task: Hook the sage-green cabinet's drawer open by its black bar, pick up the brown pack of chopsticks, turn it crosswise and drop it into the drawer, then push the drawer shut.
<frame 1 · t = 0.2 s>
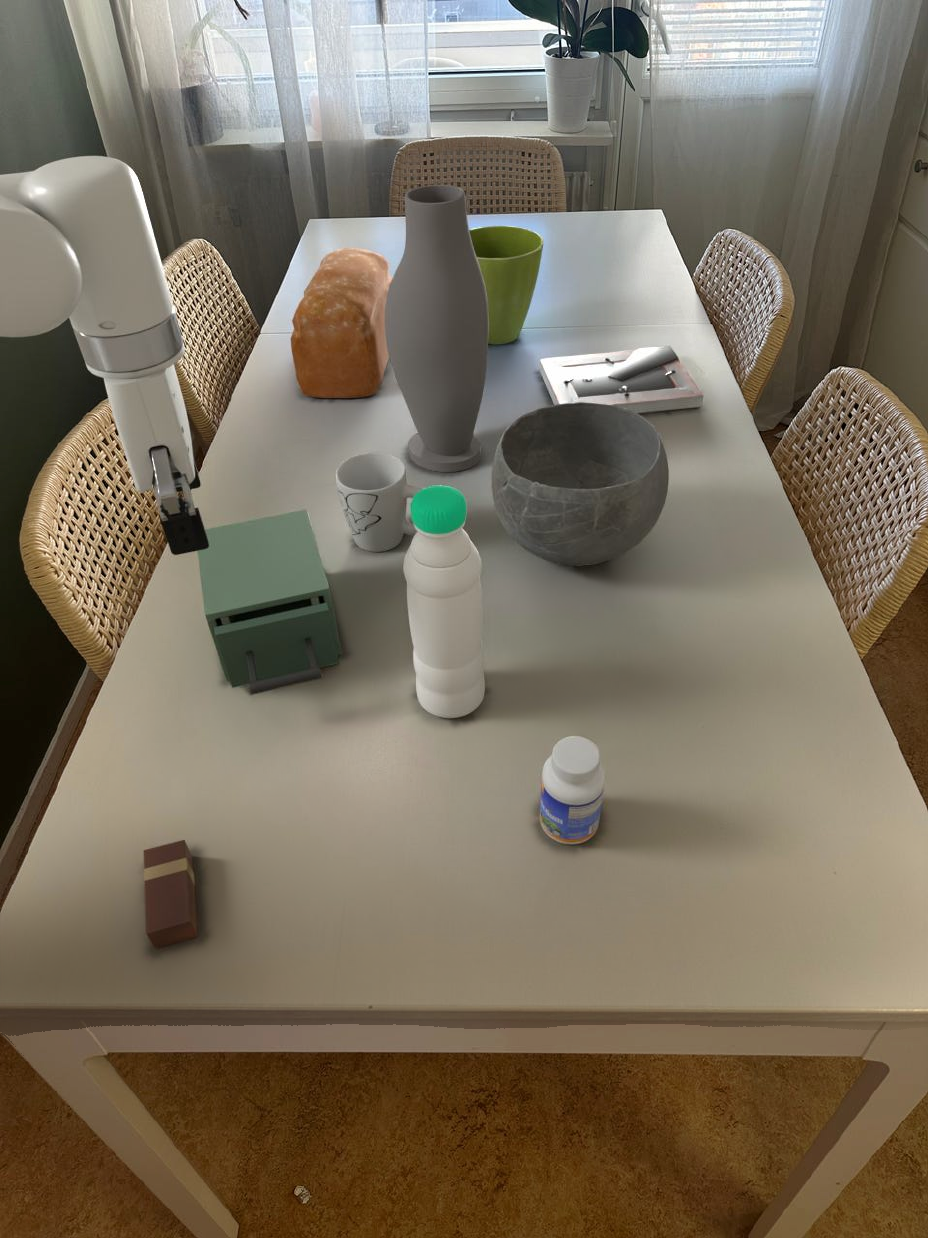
hand: (187, 518, 78), 21 cm above the table, tool pointing down, fingers open, 9 cm apart
bread: (351, 362, 146), on the table
water bottle: (451, 696, 90), on the table
cabinet: (275, 623, 99), on the table
drawer: (274, 624, 92), point 5 cm above the table, slide at 1.0 cm
vase: (446, 454, 124), on the table
mug: (390, 540, 110), on the table
chopstick pack: (174, 900, 74), on the table
picture frame: (617, 391, 136), on the table
flower pot: (498, 336, 151), on the table
pill bottle: (569, 822, 79), on the table
bowl: (574, 544, 108), on the table
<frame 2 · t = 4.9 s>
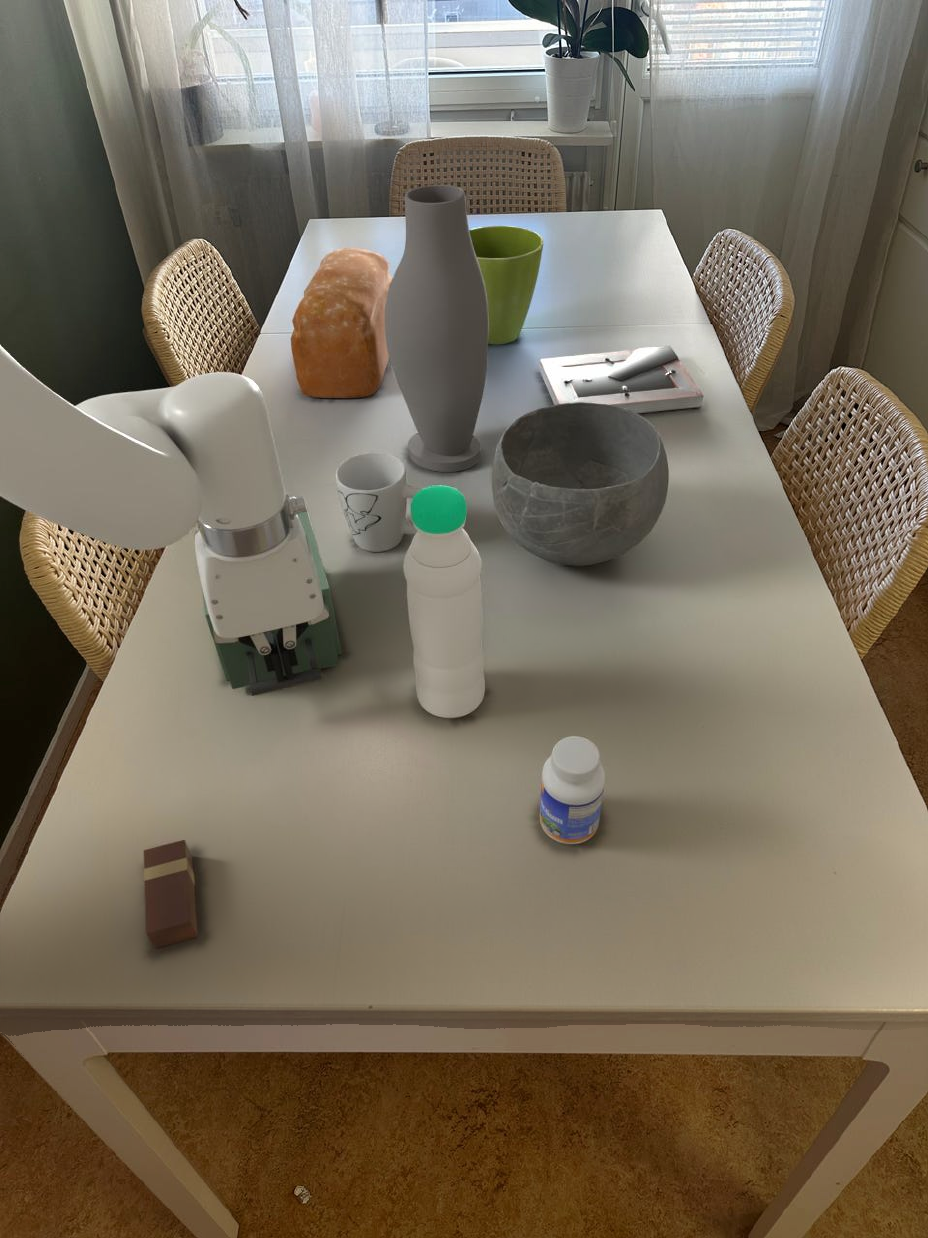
hand: (284, 670, 85), 6 cm above the table, tool pointing down, fingers closed
drawer: (274, 625, 92), point 5 cm above the table, slide at 1.2 cm, touching gripper
everything else where it was.
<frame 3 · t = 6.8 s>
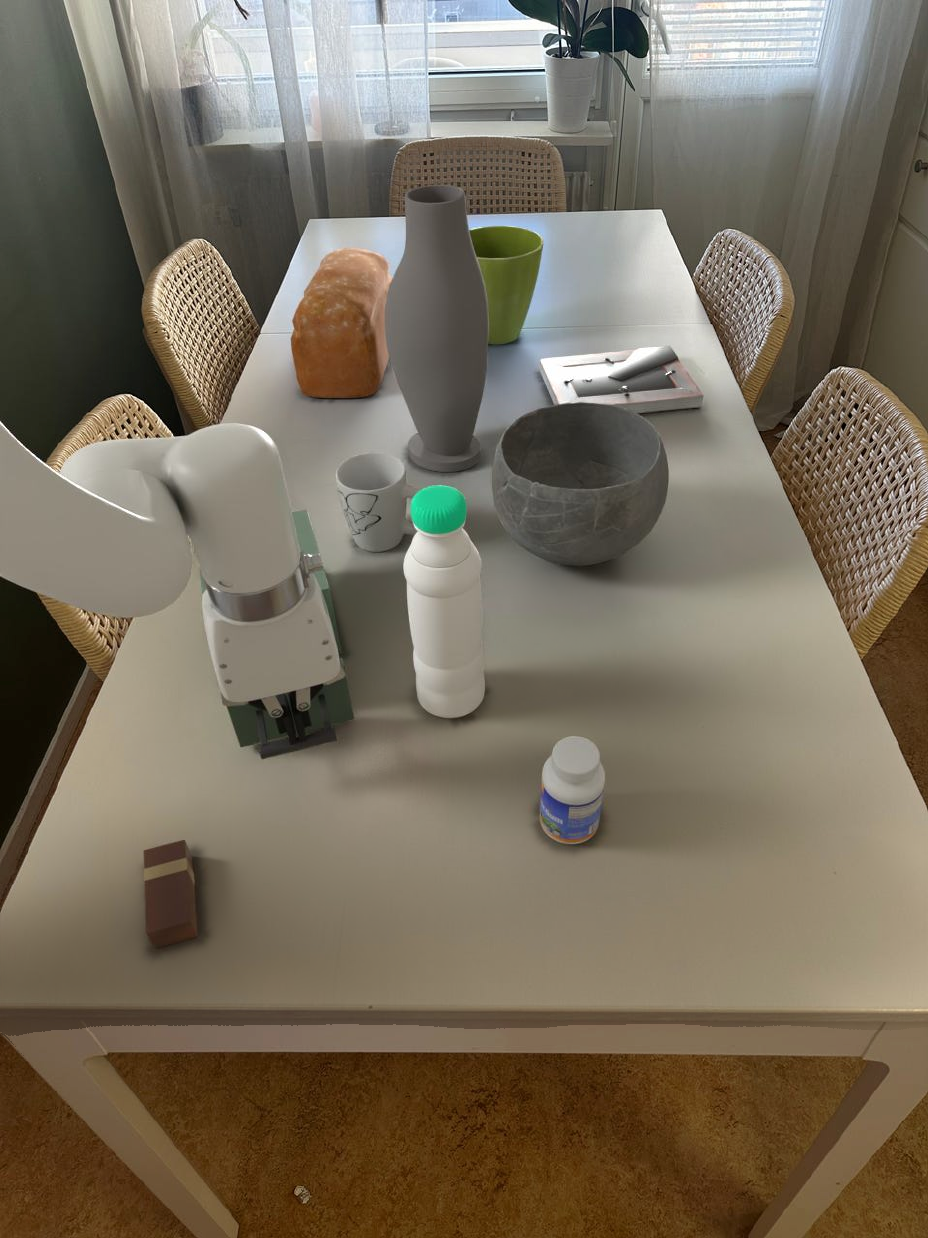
hand: (296, 731, 80), 6 cm above the table, tool pointing down, fingers closed
drawer: (285, 679, 86), point 5 cm above the table, slide at 9.3 cm, touching gripper
everything else where it was.
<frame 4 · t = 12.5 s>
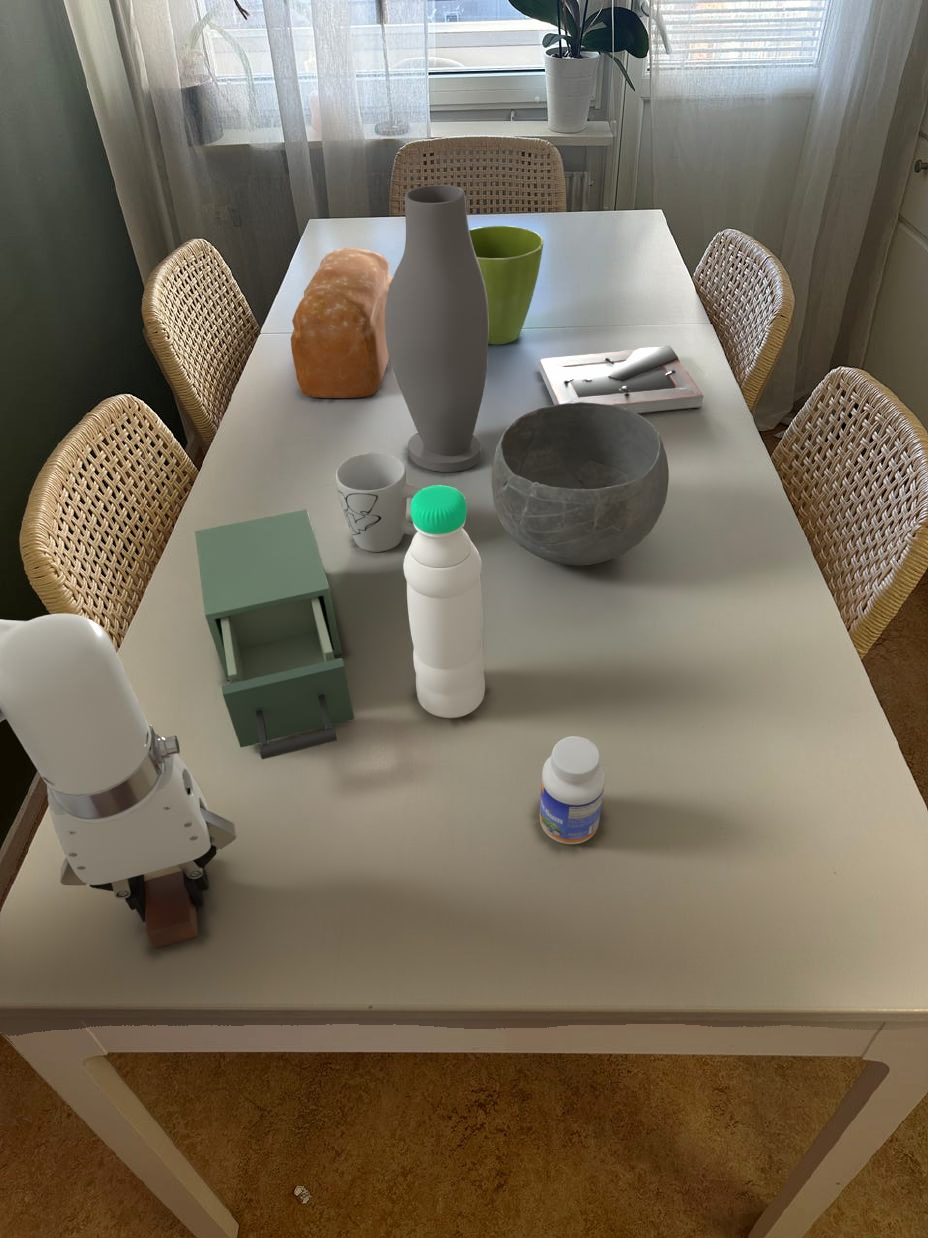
hand: (172, 897, 74), 0 cm above the table, tool pointing down, fingers closed on chopstick pack, 3 cm apart
drawer: (285, 679, 86), point 5 cm above the table, slide at 9.3 cm
chopstick pack: (174, 900, 74), on the table, touching gripper
everything else where it was.
when the fingers open (8 cm above the table, at t = 19.6 s): chopstick pack drops 6 cm, resting on drawer.
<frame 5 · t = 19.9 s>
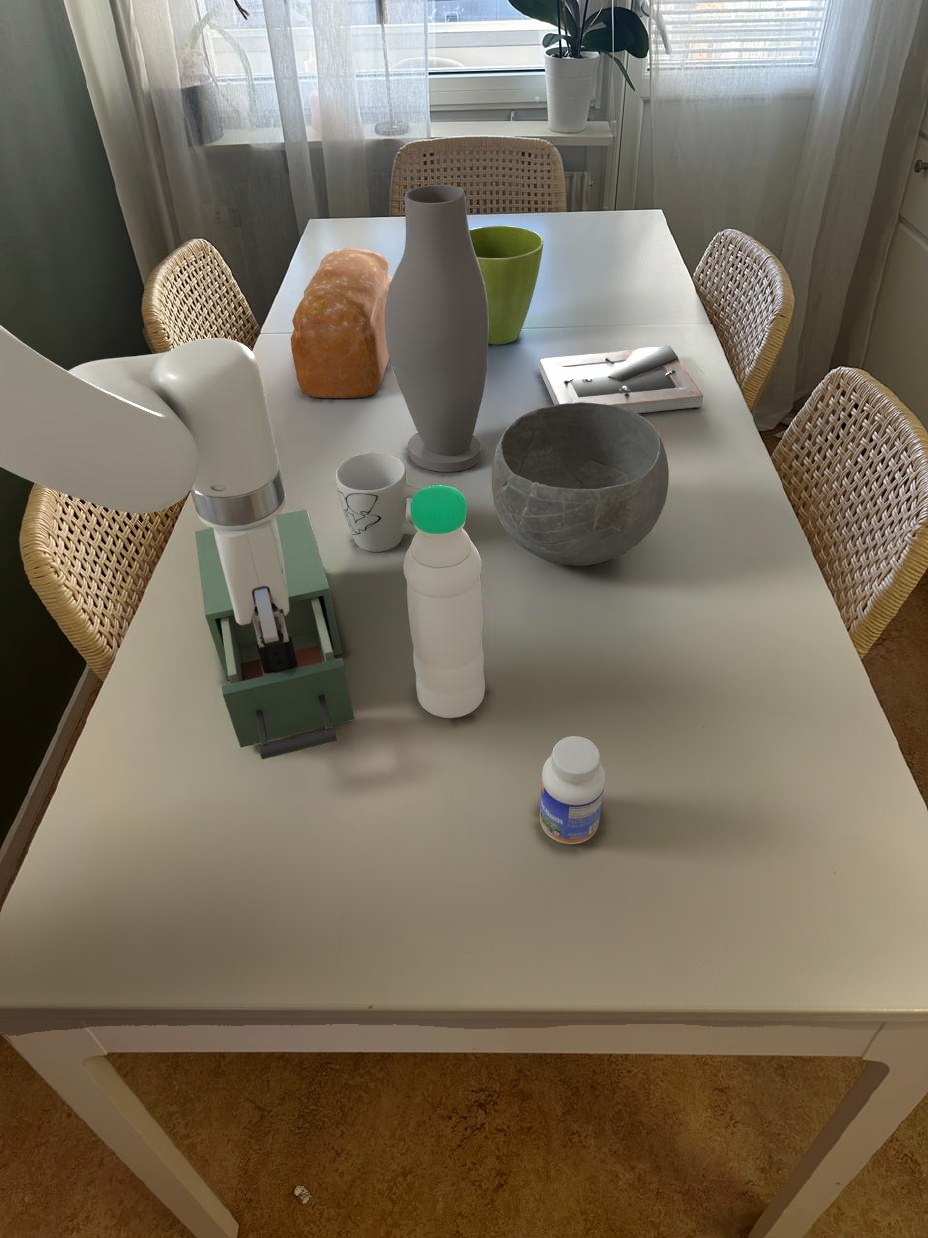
hand: (275, 641, 85), 9 cm above the table, tool pointing down, fingers open, 6 cm apart
drawer: (285, 679, 86), point 5 cm above the table, slide at 9.3 cm, touching chopstick pack
chopstick pack: (287, 683, 89), point 2 cm above the table, touching drawer
everything else where it was.
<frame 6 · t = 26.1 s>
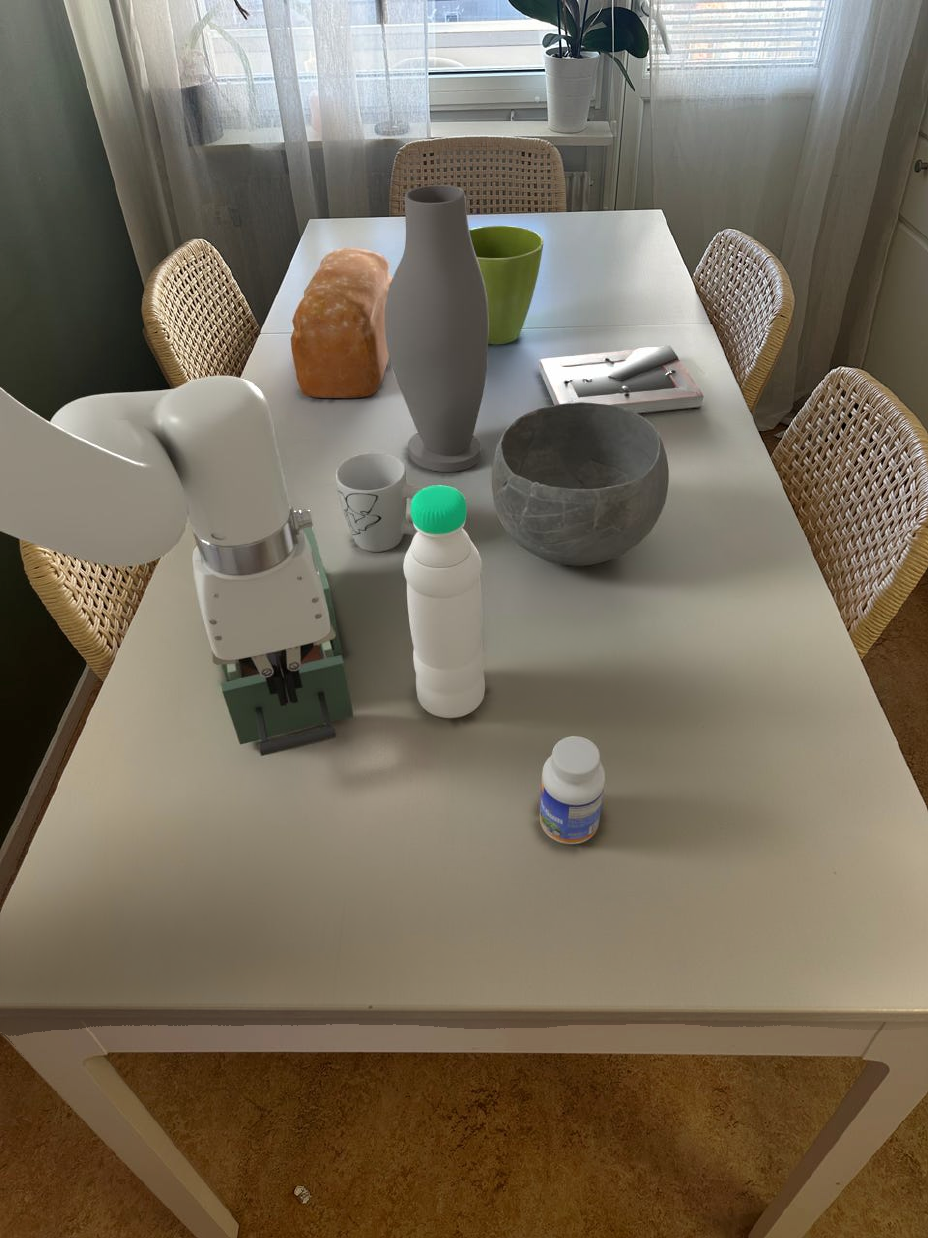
hand: (287, 693, 80), 8 cm above the table, tool pointing down, fingers closed
drawer: (285, 676, 86), point 5 cm above the table, slide at 8.9 cm, touching chopstick pack, gripper
everything else where it was.
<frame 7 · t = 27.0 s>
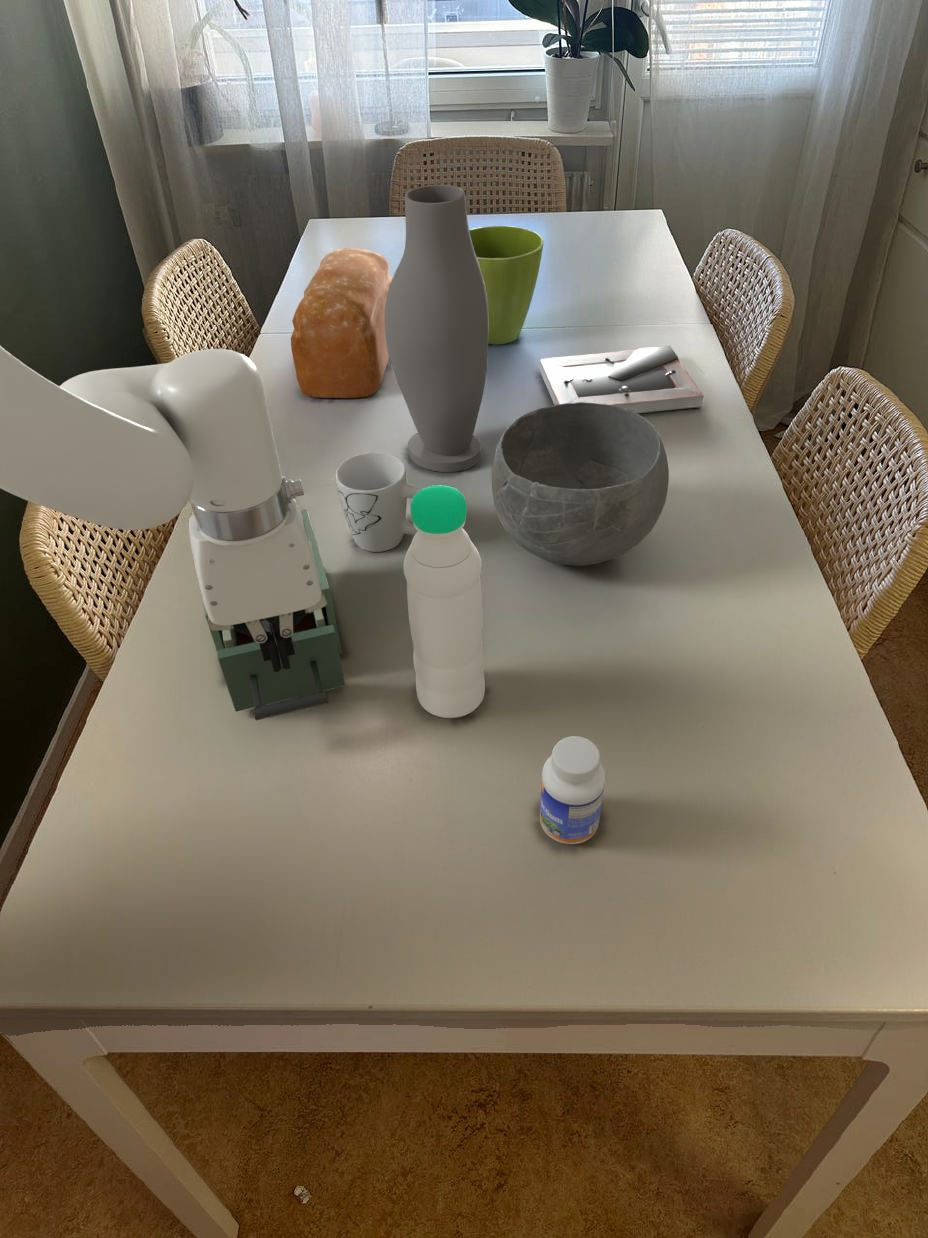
hand: (280, 660, 83), 8 cm above the table, tool pointing down, fingers closed
drawer: (279, 646, 90), point 5 cm above the table, slide at 4.4 cm, touching chopstick pack, gripper
chopstick pack: (280, 651, 93), point 2 cm above the table, touching drawer
everything else where it was.
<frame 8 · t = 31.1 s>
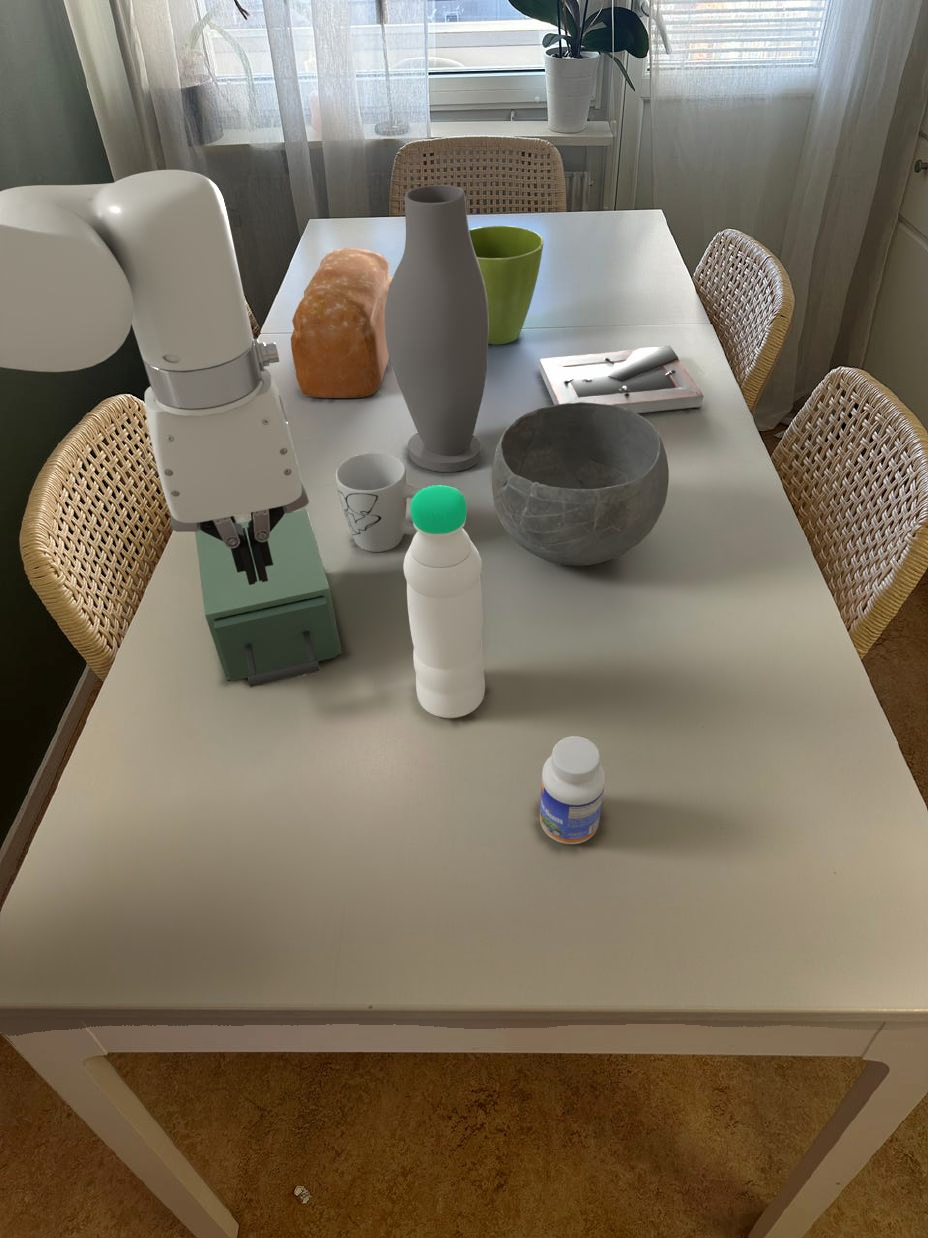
hand: (256, 572, 73), 21 cm above the table, tool pointing down, fingers closed
drawer: (273, 618, 93), point 5 cm above the table, slide at 0.0 cm, touching cabinet, chopstick pack
chopstick pack: (275, 624, 96), point 2 cm above the table, touching drawer
everything else where it was.
at the end: drawer pulled out 10.3 cm at the most during the clip, back to where it started at the end; chopstick pack inside the target area in the cabinet (2.4 cm from its centre), point 2.0 cm above the cabinet's base; drawer slide at 0.0 cm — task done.
